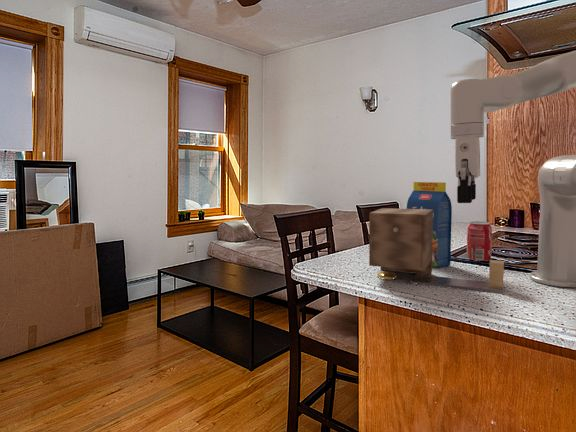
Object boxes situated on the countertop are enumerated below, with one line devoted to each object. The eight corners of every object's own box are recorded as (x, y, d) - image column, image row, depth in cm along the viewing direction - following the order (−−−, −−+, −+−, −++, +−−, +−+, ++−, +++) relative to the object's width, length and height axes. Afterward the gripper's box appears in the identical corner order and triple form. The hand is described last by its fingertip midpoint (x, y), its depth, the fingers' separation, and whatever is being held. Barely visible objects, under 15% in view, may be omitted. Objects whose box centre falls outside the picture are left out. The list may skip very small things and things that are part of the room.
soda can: (483, 257, 131) (485, 220, 129) (495, 262, 124) (497, 223, 122) (462, 258, 130) (463, 221, 129) (473, 263, 123) (474, 224, 122)
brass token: (398, 277, 111) (398, 272, 110) (394, 281, 106) (394, 277, 106) (380, 275, 113) (380, 271, 113) (375, 279, 108) (375, 275, 108)
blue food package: (436, 268, 118) (438, 182, 115) (405, 261, 128) (406, 182, 125) (450, 265, 121) (453, 182, 118) (419, 258, 131) (420, 181, 129)
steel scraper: (502, 287, 100) (503, 259, 99) (502, 295, 94) (504, 265, 93) (415, 277, 110) (415, 252, 109) (410, 284, 103) (410, 258, 103)
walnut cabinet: (431, 274, 112) (433, 209, 110) (423, 287, 99) (425, 215, 97) (381, 269, 118) (381, 208, 116) (368, 281, 106) (368, 213, 104)
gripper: (481, 128, 90) (480, 204, 92) (486, 132, 105) (485, 198, 107) (445, 131, 94) (445, 204, 96) (455, 135, 109) (455, 198, 111)
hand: (466, 201), depth 101 cm, fingers open, 9 cm apart
